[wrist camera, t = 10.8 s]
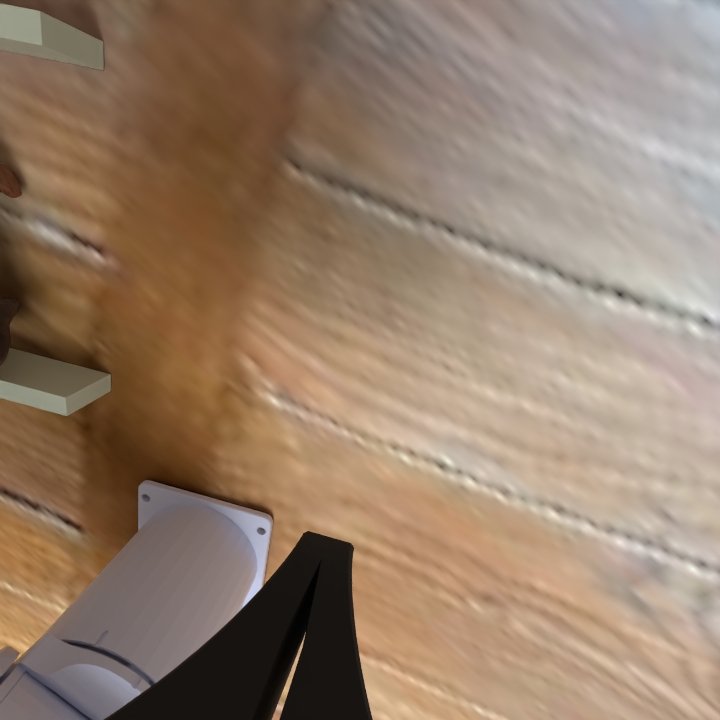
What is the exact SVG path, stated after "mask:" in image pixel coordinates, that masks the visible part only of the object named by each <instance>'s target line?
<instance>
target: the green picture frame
mask: <svg viewBox="0 0 720 720" xmlns="http://www.w3.org/2000/svg"><path fill="white" fill-rule="evenodd" d="M0 50H4V51H9V52H14V53H19V54H24V55H29V56H34V57H39V58H44V59H49V60H54V61H60V62H65V63H70V64H75V65H80V66H85V67H90V68H95V69H100V70H104V53H103V41H101V40H99V39H97V38H95V37H93V36H91V35H88V34H86V33H84V32H82V31H80V30H78V29H76V28H74V27H72V26H70V25H68V24H66V23H64V22H62V21H60V20H58V19H56V18H53V17H51V16H49V15H47V14H45V13H43V12H41V11H38V10H32V9H27V8H22V7H16V6H11V5H6V4H0ZM110 391H111V374H108V373H104V372H100V371H96V370H93V369H89V368H85V367H81V366H77V365H74V364H70V363H66V362H62V361H58V360H55V359H51V358H47V357H43V356H39V355H36V354H32V353H28V352H24V351H20V350H17V349H13V348H9V352H8V355H7V358H6V359H5V361H4V363H3V364H2V365H1V366H0V398H2V399H6V400H9V401H13V402H17V403H20V404H24V405H28V406H31V407H35V408H39V409H42V410H46V411H50V412H53V413H57V414H60V415H64V416H68V415H70V414H72V413H73V412H75V411H77V410H79V409H80V408H82V407H84V406H86V405H87V404H89V403H91V402H93V401H94V400H96V399H98V398H100V397H101V396H103V395H105V394H106V393H108V392H110Z"/></svg>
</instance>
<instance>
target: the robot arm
mask: <svg viewBox="0 0 720 720" xmlns="http://www.w3.org/2000/svg"><path fill="white" fill-rule="evenodd" d="M147 495H148V496H149V497H148V496H147ZM272 525H273V519H272V517H271V516H270V515H268V514H266V513H263V512H260V511H256V510H253V509H249V508H246V507H242V506H238V505H235V504H231V503H228V502H224V501H221V500H217V499H214V498H210V497H207V496H203V495H200V494H196V493H193V492H189V491H186V490H182V489H178V488H175V487H171V486H168V485H164V484H161V483H157V482H154V481H150V480H145V481H143V482H142V483H141V484H140V485H139V487H138V532H137V533H136V534H135V535H134V536H133V537H132V538H131V539H130V541H129V542H128V543H127V544H126V545H125V546H124V547H123V548H122V549H121V550H120V552H119V553H118V554H117V555H116V556H115V557H114V558H113V559H112V560H111V561H110V562H109V564H108V565H107V566H106V567H105V568H104V569H103V570H102V571H101V572H100V573H99V575H98V576H97V577H96V578H95V579H94V580H93V581H92V582H91V583H90V584H89V586H88V587H87V588H86V589H85V590H84V591H83V592H82V593H81V594H80V595H79V597H78V598H77V599H76V600H75V601H74V602H73V603H72V604H71V605H70V606H69V607H68V609H67V610H66V611H65V612H64V613H63V614H62V615H61V616H60V617H59V618H58V620H57V621H56V622H55V623H54V624H53V625H52V626H51V627H50V628H49V629H48V631H47V632H46V633H45V634H44V635H43V636H42V637H41V638H40V639H39V640H38V641H37V642H36V643H35V644H34V645H33V646H31V647H30V648H29V649H28V650H27V651H26V652H25V653H24V654H23V655H22V656H21V657H19V658H18V659H17V657H18V655H19V654H20V653H19V652H18V651H16V650H15V649H14V648H12V647H11V646H6V647H4V648H2V649H1V650H0V720H272V717H273V714H274V712H275V709H276V707H277V704H278V702H279V699H280V697H281V694H282V691H283V689H284V686H285V684H286V681H287V679H288V676H289V673H290V671H291V668H292V666H293V663H294V661H295V658H296V655H297V653H298V650H299V648H300V645H301V643H302V640H303V637H304V635H305V639H304V644H303V648H302V651H301V654H300V657H299V660H298V664H297V667H296V670H295V673H294V676H293V679H292V683H291V686H290V689H289V692H288V695H287V698H286V701H285V704H284V707H283V710H282V714H281V717H280V720H372V715H371V711H370V707H369V703H368V698H367V694H366V689H365V684H364V679H363V674H362V669H361V663H360V657H359V651H358V644H357V637H356V629H355V620H354V609H353V598H352V558H353V551H354V547H353V545H352V544H351V543H348V542H345V541H341V540H338V539H334V538H331V537H327V536H324V535H320V534H317V533H313V532H310V531H307V532H305V533H303V535H302V537H301V538H300V540H299V542H298V543H297V545H296V546H295V547H294V549H293V550H292V552H291V553H290V554H289V556H288V557H287V558H286V559H285V561H284V562H283V563H282V565H281V566H280V567H279V568H278V569H277V571H276V572H275V573H274V574H273V575H272V576H271V578H270V579H269V580H268V581H267V582H266V583H265V585H264V586H263V584H264V578H265V571H266V564H267V558H268V551H269V545H270V538H271V532H272ZM260 527H261V528H264V529H265V530H263V529H261V528H260ZM305 632H306V634H305ZM16 659H17V660H16ZM15 660H16V661H15ZM14 661H15V662H14ZM13 662H14V663H13Z"/></svg>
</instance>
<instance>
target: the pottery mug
mask: <svg viewBox="0 0 720 720" xmlns="http://www.w3.org/2000/svg"><path fill="white" fill-rule="evenodd" d="M0 192H2V193H4V194H5V195H7V196H9V197H11V198H16V197H19V196H21V195H22V191H21V188H20V186H19V184H18V181H17V179H16V177H15V175H14V174H13V172H12V171H11V170H10V169H9V168H8V167H6V166H4V165H3V164H1V163H0ZM19 306H20V302H19V301H18V300H16V299H13V298H0V366H1V365H2V364H3V363H4V361H5V359H6V358H7V355H8V352H9V348H10V342H11V336H10V329H9V325H10V322H11V320H12V319H13V317H14V316H15V315H16V313H17V312H18V310H19Z"/></svg>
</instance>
